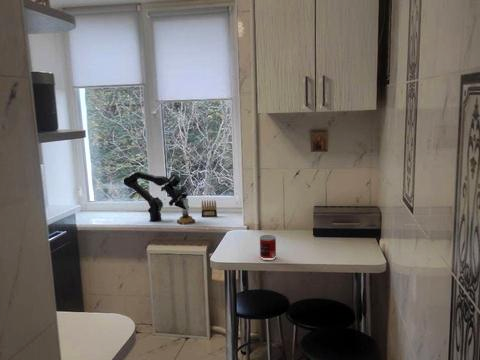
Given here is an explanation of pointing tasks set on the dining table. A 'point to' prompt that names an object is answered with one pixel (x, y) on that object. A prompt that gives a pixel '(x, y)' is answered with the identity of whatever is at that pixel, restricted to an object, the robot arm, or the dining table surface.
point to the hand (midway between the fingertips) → (187, 208)
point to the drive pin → (185, 211)
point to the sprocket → (185, 220)
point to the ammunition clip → (209, 209)
